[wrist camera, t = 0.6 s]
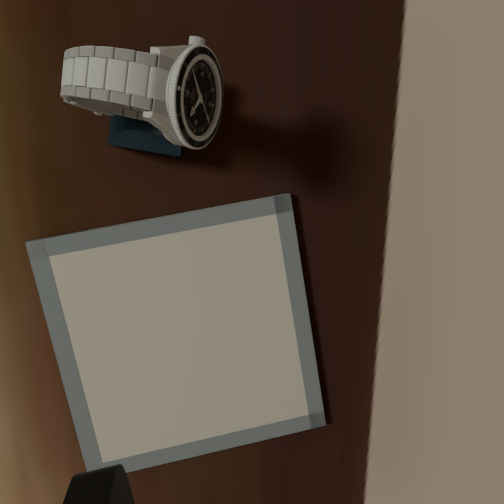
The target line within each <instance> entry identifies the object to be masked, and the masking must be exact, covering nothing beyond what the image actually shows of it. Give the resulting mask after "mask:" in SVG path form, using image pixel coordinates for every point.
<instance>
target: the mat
mask: <svg viewBox="0 0 504 504" xmlns="http://www.w3.org/2000/svg"><path fill="white" fill-rule="evenodd" d="M25 244H26V247H27V251H28V255H29V259H30V262H31V266H32V270H33V273H34V277H35V281H36V284H37V288H38V292H39V296H40V299H41V303H42V307H43V310H44V314H45V318H46V322H47V325H48V329H49V333H50V336H51V340H52V344H53V348H54V351H55V355H56V359H57V362H58V366H59V370H60V373H61V377H62V381H63V385H64V388H65V392H66V396H67V399H68V403H69V407H70V411H71V414H72V418H73V422H74V425H75V429H76V433H77V437H78V440H79V444H80V448H81V451H82V455H83V459H84V462H85V466H86V470H87V472H88V471H92V470H96V469H100V468H104V467H108V466H112V465H117V464H122V466H123V467H124V469H125V471H126V473H127V472H131V471H135V470H140V469H144V468H148V467H152V466H157V465H161V464H165V463H169V462H173V461H178V460H182V459H186V458H190V457H194V456H199V455H203V454H207V453H211V452H216V451H220V450H224V449H228V448H232V447H237V446H241V445H245V444H249V443H253V442H258V441H262V440H266V439H270V438H275V437H279V436H283V435H287V434H291V433H296V432H300V431H304V430H308V429H312V428H317V427H321V426H325V425H326V422H325V415H324V409H323V402H322V396H321V389H320V383H319V376H318V370H317V363H316V357H315V350H314V344H313V338H312V331H311V325H310V318H309V312H308V305H307V299H306V292H305V286H304V279H303V273H302V266H301V260H300V253H299V247H298V240H297V234H296V227H295V221H294V214H293V208H292V201H291V195H290V194H289V193H287V194H282V195H276V196H271V197H265V198H260V199H255V200H249V201H244V202H238V203H233V204H227V205H222V206H216V207H211V208H206V209H200V210H195V211H189V212H184V213H178V214H173V215H167V216H162V217H156V218H151V219H146V220H140V221H135V222H129V223H124V224H118V225H113V226H107V227H102V228H96V229H91V230H86V231H80V232H75V233H69V234H64V235H58V236H53V237H47V238H42V239H36V240H31V241H27V242H25Z"/></svg>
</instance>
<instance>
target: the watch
mask: <svg viewBox="0 0 504 504" xmlns="http://www.w3.org/2000/svg"><path fill="white" fill-rule="evenodd" d="M223 90H224V89H223V79H222V73H221V69H220V65H219V63H218V60H217V58H216V56H215V54H214V53H213V51H212V50H211V49H210V48H208V47H207V46H205V39H203V38H201V37H198V36H190V37H189V44H188V45H180V46H170V47H151V50H150V53H146V52H140V51H137V52H136V51H135V50H129V49H121V48H114V47H104V46H80V47H74V48H70V49H68V50H66V51H65V53H64V62H63V72H62V83H61V95H60V96H61V97H63V98H64V101H65V102H66V103H68V104H71V105H74V106H77V107H81V108H84V109H87V110H91V111H94V114H96V115H102V114H105V115H109V116H110V115H111V122H110V131H109V140H108V145H111V146H114V147H118V148H124V149H130V150H136V151H143V152H149V153H155V154H161V155H167V156H173V157H179V158H181V153H182V146H185V147H188V148H190V149H202V148H203V147H205V146H207V145H208V144H209V142H210V141H211V140H212V138H213V137H214V135H215V133H216V131H217V129H218V126H219V123H220V119H221V114H222V109H223V97H224V91H223Z"/></svg>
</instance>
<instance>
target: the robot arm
mask: <svg viewBox="0 0 504 504" xmlns="http://www.w3.org/2000/svg"><path fill="white" fill-rule="evenodd" d="M63 504H135V503H134V499H133V496H132V492H131V488H130V485H129V481H128V478H127V474H126V471H125V469H124V467H123V466H122V464H117V465H112V466H108V467H104V468H100V469H96V470H92V471H88V472H84V473H80V474H76V475H74V476H73V478H72V480H71V482H70V485H69V488H68V490H67V493H66V496H65V499H64V502H63Z"/></svg>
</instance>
